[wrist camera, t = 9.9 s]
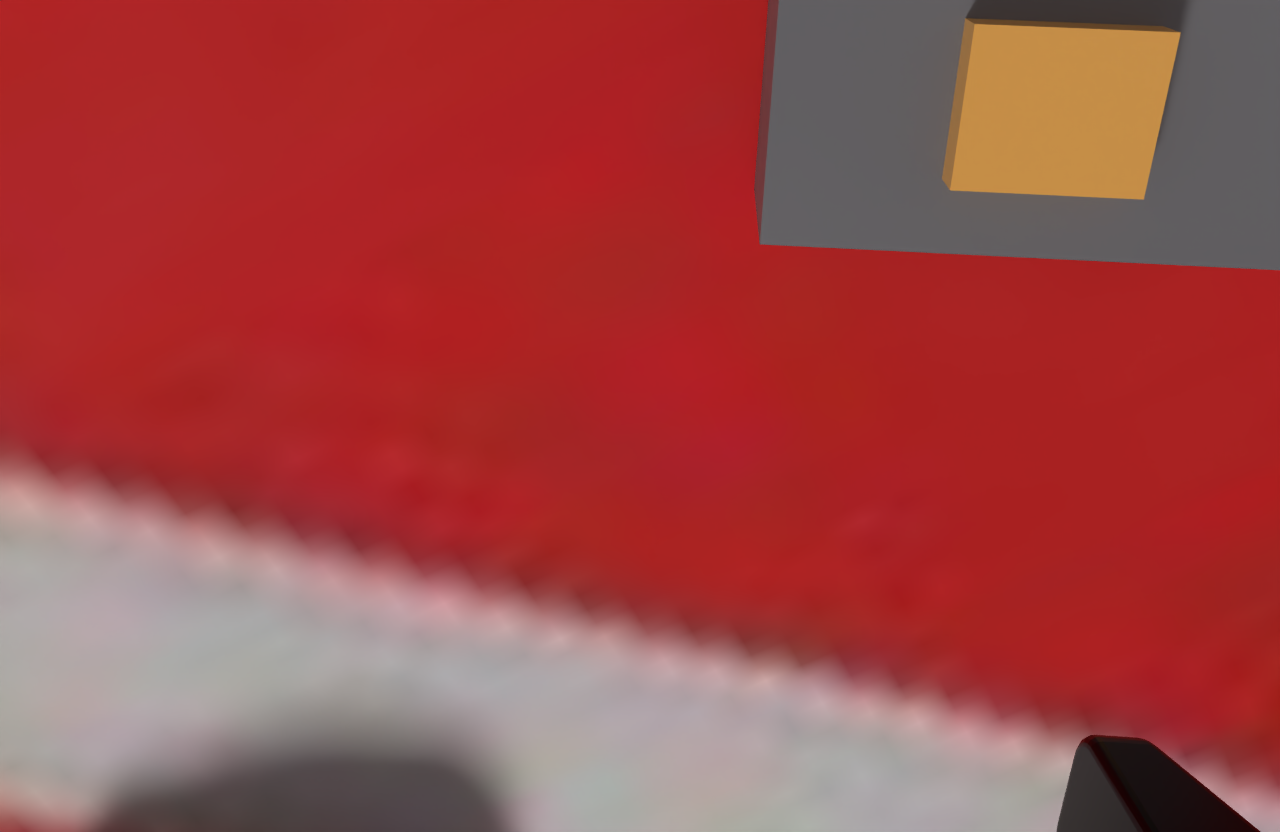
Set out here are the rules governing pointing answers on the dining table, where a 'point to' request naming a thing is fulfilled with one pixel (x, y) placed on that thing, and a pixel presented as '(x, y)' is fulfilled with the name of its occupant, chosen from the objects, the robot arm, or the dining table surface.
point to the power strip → (889, 131)
